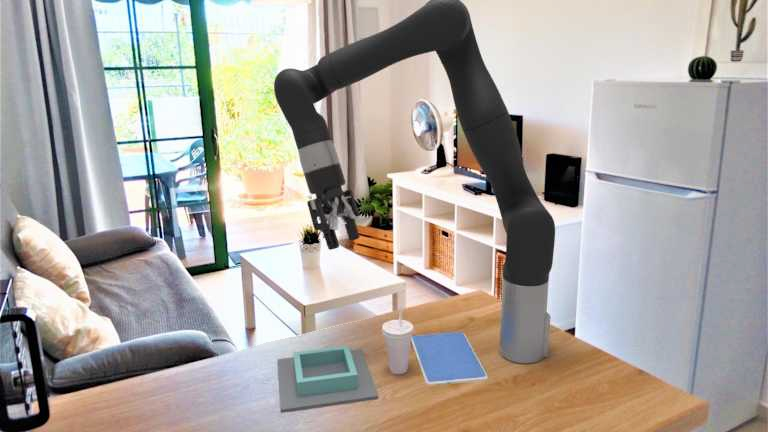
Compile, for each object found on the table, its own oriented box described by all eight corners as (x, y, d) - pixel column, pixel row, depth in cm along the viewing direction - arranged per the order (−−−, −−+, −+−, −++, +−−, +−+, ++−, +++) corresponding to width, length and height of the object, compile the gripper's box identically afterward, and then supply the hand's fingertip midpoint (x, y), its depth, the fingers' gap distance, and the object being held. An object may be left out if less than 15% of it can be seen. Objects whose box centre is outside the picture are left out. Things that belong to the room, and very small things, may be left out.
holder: (361, 351, 124) (361, 336, 123) (378, 398, 108) (378, 381, 107) (277, 361, 121) (276, 346, 120) (281, 412, 104) (279, 395, 103)
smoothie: (411, 379, 114) (411, 315, 110) (379, 376, 115) (378, 312, 111) (416, 362, 120) (415, 300, 116) (386, 359, 121) (384, 298, 117)
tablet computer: (489, 382, 113) (489, 376, 112) (426, 388, 111) (426, 382, 111) (463, 335, 131) (463, 330, 131) (409, 340, 130) (409, 335, 129)
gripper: (317, 165, 107) (343, 248, 108) (353, 158, 120) (376, 232, 121) (286, 176, 111) (311, 256, 112) (324, 168, 123) (346, 240, 124)
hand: (345, 243), depth 116 cm, fingers open, 8 cm apart
